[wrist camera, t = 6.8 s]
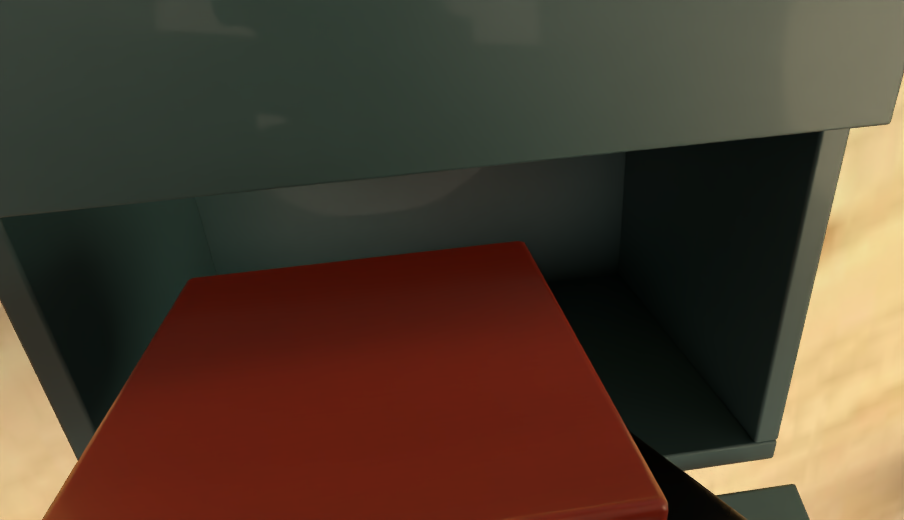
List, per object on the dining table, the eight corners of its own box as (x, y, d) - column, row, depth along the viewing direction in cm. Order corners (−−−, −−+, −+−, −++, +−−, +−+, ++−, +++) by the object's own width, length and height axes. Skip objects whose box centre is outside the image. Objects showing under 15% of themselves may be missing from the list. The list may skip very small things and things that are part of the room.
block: (186, 275, 7) (-20, 608, 4) (524, 237, 8) (674, 505, 4) (261, 515, 9) (181, 900, 6) (528, 476, 10) (631, 814, 6)
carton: (664, -281, 13) (1107, -669, 5) (626, 277, 19) (797, 487, 11) (51, -249, 12) (-558, -663, 4) (221, 326, 18) (105, 591, 10)
